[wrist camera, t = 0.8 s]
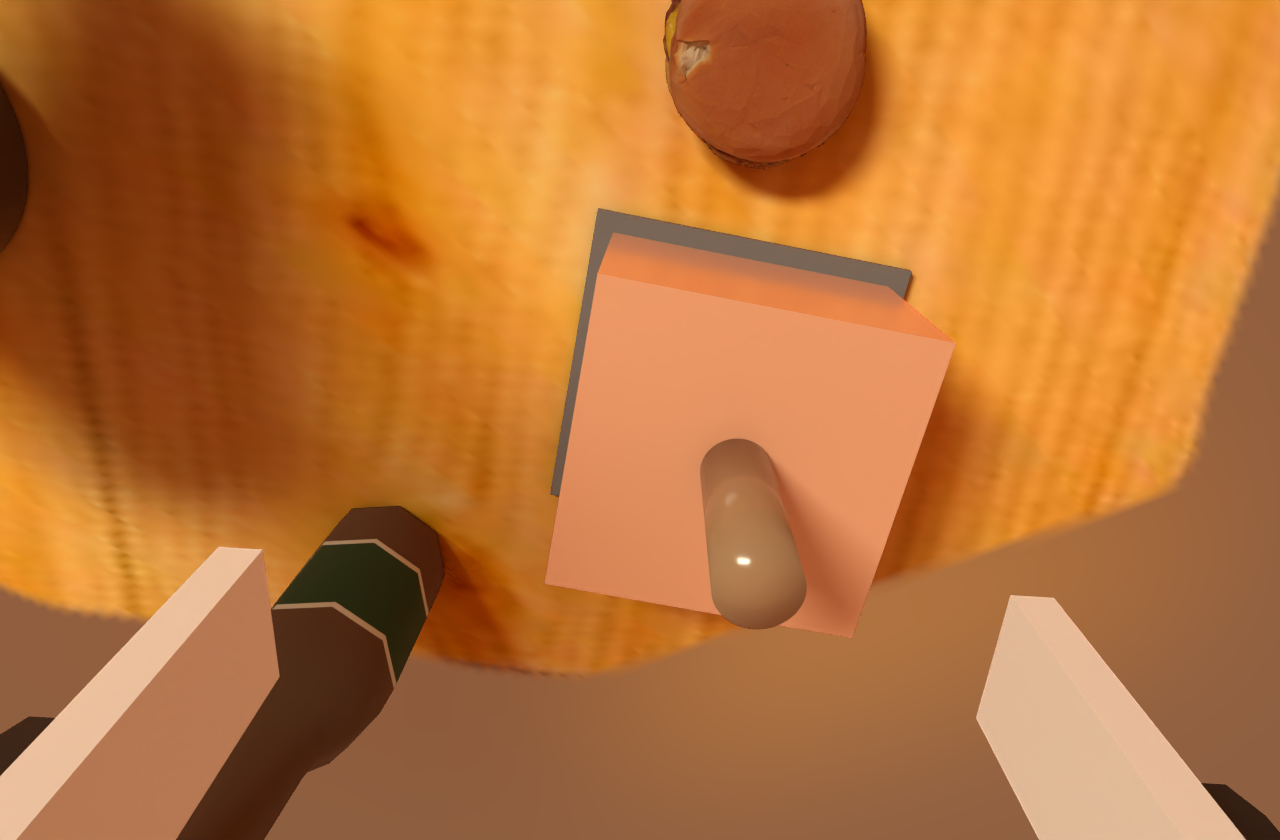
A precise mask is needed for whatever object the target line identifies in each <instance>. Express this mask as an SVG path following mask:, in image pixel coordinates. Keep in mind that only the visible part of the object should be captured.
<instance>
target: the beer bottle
mask: <svg viewBox="0 0 1280 840" xmlns="http://www.w3.org/2000/svg"><path fill="white" fill-rule="evenodd" d="M444 575H445V573H444V568H443V563H442V558H441V552H440V547H439V542H438V536H437V533H436V532H435V531H434V530H433V529H431V528H430V527H428V526H427V525H426V524H424V523H423V522H421V521H420V520H419V519H417V518H416V517H415V516H413V515H412V514H410V513H409V512H408V511H406V510H405V509H403V508H402V507H401V506H389V507H370V508H354V509H351V510H350V511H349V513H348V514H347V515H346V516H345V517H344V518H343V519H342V520H341V521H340V522H339V524H338V525H337V526H336V527H335V528H334V530H333V531H332V532H331V533H330V535H329V536H328V537H327V538H326V539H325V541H324V542H323V543H322V544H321V545H320V547H319V548H318V549H317V550H316V552H315V553H314V554H313V555H312V557H311V558H310V559H309V560H308V562H307V563H306V564H305V566H304V567H303V568H302V570H301V571H300V572H299V573H298V575H297V576H296V577H295V579H294V580H293V581H292V582H291V584H290V585H289V586H288V588H287V589H286V590H285V592H284V593H283V594H282V595H281V597H280V598H279V599H278V601H277V602H276V603H275V605H274V606H273V607H272V608H271V616H272V623H273V631H274V638H275V646H276V653H277V661H278V668H279V676H280V677H279V678H278V680H277V681H276V683H275V685H274V686H273V688H272V689H271V691H270V692H269V694H268V696H267V697H266V699H265V700H264V702H263V703H262V705H261V707H260V708H259V710H258V711H257V713H256V714H255V716H254V718H253V719H252V721H251V722H250V724H249V725H248V727H247V729H246V730H245V732H244V733H243V735H242V736H241V738H240V740H239V741H238V743H237V744H236V746H235V747H234V749H233V751H232V752H231V754H230V755H229V757H228V758H227V760H226V762H225V763H224V765H223V766H222V768H221V769H220V771H219V773H218V774H217V776H216V777H215V779H214V780H213V782H212V784H211V785H210V787H209V788H208V790H207V791H206V793H205V795H204V796H203V798H202V799H201V801H200V802H199V804H198V806H197V807H196V809H195V810H194V812H193V813H192V815H191V817H190V818H189V820H188V821H187V823H186V824H185V826H184V828H183V829H182V831H181V832H180V834H179V835H178V837H177V839H176V840H264V839H265V837H266V835H267V834H268V832H269V830H270V829H271V827H272V826H273V824H274V823H275V821H276V819H277V818H278V816H279V815H280V813H281V811H282V810H283V808H284V807H285V805H286V803H287V802H288V800H289V799H290V797H291V795H292V793H293V792H294V791H295V789H296V787H297V786H298V784H299V783H300V781H301V779H302V778H303V776H304V775H305V774H306V773H307V772H309V771H311V770H314V769H316V768H319V767H321V766H324V765H326V764H329V763H330V762H331V761H332V760H333V759H334V758H336V757H337V756H338V755H339V754H340V753H341V752H343V751H344V750H345V749H346V748H347V747H348V746H349V745H350V744H351V743H352V742H353V741H354V740H355V739H356V738H357V736H359V734H360V733H361V732H362V731H363V730H364V729H365V728H366V727H367V726H368V725H369V724H370V723H371V722H372V721H373V720H374V719H375V718H376V717H377V715H378V714H379V713H380V712H381V710H382V708H383V707H384V705H385V703H386V701H387V700H388V698H389V696H390V695H391V693H392V691H393V689H394V688H395V685H396V683H397V681H398V679H399V677H400V675H401V672H402V670H403V668H404V666H405V664H406V661H407V659H408V657H409V655H410V653H411V651H412V648H413V646H414V644H415V642H416V640H417V637H418V635H419V633H420V631H421V629H422V627H423V624H424V622H425V620H426V618H427V616H428V613H429V611H430V609H431V607H432V605H433V602H434V600H435V598H436V596H437V594H438V592H439V589H440V586H441V583H442V580H443V578H444Z"/></svg>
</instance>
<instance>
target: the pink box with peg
mask: <svg viewBox="0 0 1280 840" xmlns="http://www.w3.org/2000/svg"><path fill="white" fill-rule="evenodd" d="M955 345H956V343H955V342H954V341H953V340H952V339H950V338H949V337H948V336H947V335H946V334H944V333H943V332H942V331H941V330H940V329H938V328H937V327H936V326H935V325H934V324H932V323H931V322H930V321H929V320H928V319H926V318H925V317H924V316H923V315H922V314H920V313H919V312H918V311H917V310H916V309H914V308H913V307H912V306H911V305H910V304H908V303H907V302H906V301H905V300H904V299H903V298H901V297H900V296H899V295H898V294H897V293H895V292H894V291H893V290H892V289H891V288H889V287H888V286H883V285H878V284H873V283H868V282H863V281H858V280H853V279H848V278H842V277H837V276H832V275H827V274H822V273H817V272H812V271H807V270H802V269H797V268H792V267H787V266H782V265H777V264H771V263H766V262H761V261H756V260H751V259H746V258H741V257H736V256H731V255H726V254H721V253H716V252H711V251H706V250H701V249H695V248H690V247H685V246H680V245H675V244H670V243H665V242H660V241H655V240H650V239H645V238H640V237H635V236H630V235H624V234H619V233H614V232H613V234H612V237H611V239H610V242H609V245H608V247H607V250H606V252H605V255H604V258H603V260H602V263H601V266H600V268H599V271H598V273H597V279H596V285H595V291H594V297H593V303H592V309H591V314H590V320H589V326H588V332H587V338H586V344H585V349H584V355H583V361H582V367H581V373H580V379H579V384H578V390H577V396H576V402H575V408H574V414H573V419H572V425H571V431H570V437H569V443H568V449H567V455H566V460H565V466H564V472H563V478H562V484H561V490H560V495H559V501H558V507H557V513H556V519H555V525H554V530H553V536H552V542H551V548H550V554H549V560H548V565H547V571H546V577H545V583H544V584H548V585H554V586H559V587H565V588H571V589H576V590H582V591H587V592H593V593H599V594H604V595H610V596H616V597H621V598H627V599H633V600H638V601H644V602H650V603H655V604H661V605H667V606H672V607H678V608H683V609H689V610H695V611H700V612H706V613H712V614H717V615H722V616H723V617H724V618H725V619H727V620H728V621H730V622H731V623H733V624H735V625H737V626H740V627H744V628H748V629H766V628H771V627H774V626H778V625H780V626H785V627H791V628H797V629H802V630H808V631H814V632H819V633H825V634H830V635H836V636H842V637H847V638H853V635H854V633H855V630H856V627H857V624H858V621H859V618H860V616H861V613H862V610H863V607H864V604H865V601H866V598H867V596H868V593H869V590H870V587H871V584H872V581H873V578H874V576H875V573H876V570H877V567H878V564H879V561H880V559H881V556H882V553H883V550H884V547H885V544H886V541H887V539H888V536H889V533H890V530H891V527H892V524H893V521H894V519H895V516H896V513H897V510H898V507H899V504H900V502H901V499H902V496H903V493H904V490H905V487H906V484H907V482H908V479H909V476H910V473H911V470H912V467H913V464H914V462H915V459H916V456H917V453H918V450H919V447H920V445H921V442H922V439H923V436H924V433H925V430H926V427H927V425H928V422H929V419H930V416H931V413H932V410H933V407H934V405H935V402H936V399H937V396H938V393H939V390H940V388H941V385H942V382H943V379H944V376H945V373H946V370H947V368H948V365H949V362H950V359H951V356H952V353H953V350H954V348H955Z"/></svg>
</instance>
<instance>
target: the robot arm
mask: <svg viewBox="0 0 1280 840" xmlns="http://www.w3.org/2000/svg"><path fill="white" fill-rule="evenodd" d="M26 194H27V162H26V154H25V149H24V144H23V139H22V136H21V132H20V129H19V126H18V123H17V120H16V117H15V115H14V112H13V110H12V107H11V105H10V103H9V101H8V99H7V97H6V95H5V93H4V91H3V90H2V88H1V86H0V251H1V250H2V249H3V248H4V247H5V246H6V244H7V243H8V242H9V240H10V239H11V237H12V236H13V234H14V232H15V230H16V228H17V226H18V224H19V222H20V219H21V216H22V213H23V209H24V206H25V200H26ZM279 677H280V676H279V668H278V661H277V653H276V646H275V638H274V631H273V623H272V616H271V608H270V600H269V593H268V585H267V578H266V570H265V563H264V555H263V549H247V548H231V547H218V548H217V549H216V550H215V551H214V552H213V553H212V554H211V555H210V556H209V557H208V558H207V559H206V561H205V562H204V563H203V564H202V565H201V566H200V567H199V568H198V569H197V570H196V571H195V572H194V573H193V574H192V575H191V576H190V577H189V578H188V579H187V581H186V582H185V583H184V584H183V585H182V586H181V587H180V588H179V589H178V590H177V591H176V592H175V593H174V594H173V595H172V596H171V597H170V598H169V599H168V600H167V602H166V603H165V604H164V605H163V606H162V607H161V608H160V609H159V610H158V611H157V612H156V613H155V614H154V615H153V616H152V617H151V618H150V619H149V620H148V621H147V623H146V624H145V625H144V626H143V627H142V628H141V629H140V630H139V631H138V632H137V633H136V634H135V635H134V636H133V637H132V638H131V639H130V640H129V641H128V643H127V644H126V645H125V646H124V647H123V648H122V649H121V650H120V651H119V652H118V653H117V654H116V655H115V656H114V657H113V658H112V659H111V660H110V662H109V663H108V664H107V665H106V666H105V667H104V668H103V669H102V670H101V671H100V672H99V673H98V674H97V675H96V676H95V677H94V678H93V679H92V680H91V681H90V682H89V683H88V684H87V686H86V687H85V688H84V689H83V690H82V691H81V692H80V693H79V694H78V695H77V696H76V697H75V698H74V699H73V700H72V701H71V702H70V704H69V705H68V706H67V707H66V708H65V709H64V710H63V711H62V712H61V713H60V714H59V715H58V716H57V717H56V718H45V717H28V718H26V719H24V720H23V721H21V722H20V723H18V724H16V725H15V726H13V727H12V728H10V729H8V730H7V731H5V732H3V733H2V734H0V840H176V839H177V837H178V835H179V834H180V832H181V831H182V829H183V828H184V826H185V824H186V823H187V821H188V820H189V818H190V817H191V815H192V813H193V812H194V810H195V809H196V807H197V806H198V804H199V802H200V801H201V799H202V798H203V796H204V795H205V793H206V791H207V790H208V788H209V787H210V785H211V784H212V782H213V780H214V779H215V777H216V776H217V774H218V773H219V771H220V769H221V768H222V766H223V765H224V763H225V762H226V760H227V758H228V757H229V755H230V754H231V752H232V751H233V749H234V747H235V746H236V744H237V743H238V741H239V740H240V738H241V736H242V735H243V733H244V732H245V730H246V729H247V727H248V725H249V724H250V722H251V721H252V719H253V718H254V716H255V714H256V713H257V711H258V710H259V708H260V707H261V705H262V703H263V702H264V700H265V699H266V697H267V696H268V694H269V692H270V691H271V689H272V688H273V686H274V685H275V683H276V681H277V680H278V678H279ZM976 719H977V721H978V722H979V724H980V727H981V728H982V730H983V732H984V734H985V736H986V738H987V740H988V742H989V744H990V746H991V748H992V749H993V752H994V753H995V756H996V757H997V759H998V761H999V763H1000V765H1001V767H1002V769H1003V771H1004V773H1005V775H1006V777H1007V779H1008V780H1009V782H1010V785H1011V786H1012V788H1013V790H1014V792H1015V794H1016V796H1017V798H1018V800H1019V802H1020V803H1021V806H1022V808H1023V810H1024V812H1025V814H1026V815H1027V817H1028V819H1029V821H1030V823H1031V825H1032V827H1033V829H1034V831H1035V833H1036V835H1037V837H1038V839H1039V840H1280V832H1279V831H1278V830H1277V829H1276V827H1275V826H1274V825H1273V824H1272V823H1271V822H1270V820H1269V819H1268V818H1267V817H1266V816H1265V815H1264V814H1263V813H1261V812H1260V811H1259V810H1258V809H1256V808H1255V807H1254V806H1252V805H1251V804H1250V803H1249V802H1247V801H1246V800H1244V799H1243V798H1242V797H1241V796H1239V795H1238V794H1237V793H1236V792H1234V791H1233V790H1232V789H1230V788H1229V787H1228V786H1227V785H1223V784H1206V783H1200V782H1199V780H1198V779H1197V778H1196V777H1195V775H1194V774H1193V773H1192V771H1191V770H1190V769H1189V768H1188V766H1187V765H1186V764H1185V763H1184V761H1183V760H1182V759H1181V758H1180V756H1179V755H1178V754H1177V753H1176V751H1175V750H1174V749H1173V748H1172V746H1171V745H1170V744H1169V742H1168V741H1167V740H1166V739H1165V737H1164V736H1163V735H1162V734H1161V732H1160V731H1159V730H1158V729H1157V727H1156V726H1155V725H1154V723H1153V722H1152V721H1151V720H1150V718H1149V717H1148V716H1147V715H1146V713H1145V712H1144V711H1143V710H1142V708H1141V707H1140V706H1139V705H1138V703H1137V702H1136V701H1135V700H1134V698H1133V697H1132V696H1131V695H1130V693H1129V692H1128V691H1127V690H1126V688H1125V687H1124V686H1123V684H1122V683H1121V682H1120V681H1119V679H1118V678H1117V677H1116V676H1115V675H1114V673H1113V672H1112V671H1111V669H1110V668H1109V667H1108V666H1107V664H1106V663H1105V662H1104V661H1103V659H1102V658H1101V657H1100V656H1099V654H1098V653H1097V652H1096V650H1095V649H1094V648H1093V647H1092V645H1091V644H1090V643H1089V642H1088V640H1087V639H1086V638H1085V637H1084V636H1083V634H1082V633H1081V632H1080V630H1079V629H1078V628H1077V627H1076V625H1075V624H1074V623H1073V622H1072V620H1071V619H1070V618H1069V617H1068V615H1067V614H1066V613H1065V611H1064V610H1063V609H1062V608H1061V606H1060V605H1059V604H1058V603H1057V601H1056V600H1055V599H1054V598H1046V597H1029V596H1013V595H1011V596H1010V599H1009V603H1008V607H1007V610H1006V614H1005V618H1004V621H1003V624H1002V628H1001V631H1000V635H999V639H998V642H997V646H996V649H995V653H994V656H993V660H992V663H991V667H990V670H989V674H988V678H987V681H986V685H985V688H984V692H983V695H982V699H981V703H980V706H979V709H978V713H977V717H976Z"/></svg>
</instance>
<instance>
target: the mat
mask: <svg viewBox="0 0 1280 840" xmlns="http://www.w3.org/2000/svg"><path fill="white" fill-rule="evenodd" d="M613 232H614V233H619V234H624V235H630V236H635V237H640V238H645V239H650V240H655V241H660V242H665V243H670V244H675V245H680V246H685V247H690V248H695V249H701V250H706V251H711V252H716V253H721V254H726V255H731V256H736V257H741V258H746V259H751V260H756V261H761V262H766V263H771V264H777V265H782V266H787V267H792V268H797V269H802V270H807V271H812V272H817V273H822V274H827V275H832V276H837V277H842V278H848V279H853V280H858V281H863V282H868V283H873V284H878V285H883V286H888V287H889V288H891V289H892V290H893V291H894V292H895V293H897V294H898V295H899V296H900V297H901V298H903V299H904V295H905V292H906V289H907V286H908V283H909V280H910V277H911V273H912V271H910V270H907V269H902V268H897V267H892V266H887V265H882V264H877V263H872V262H866V261H861V260H856V259H851V258H846V257H841V256H836V255H831V254H826V253H821V252H816V251H811V250H806V249H801V248H796V247H791V246H786V245H781V244H776V243H771V242H766V241H761V240H756V239H751V238H746V237H741V236H735V235H730V234H725V233H720V232H715V231H710V230H705V229H700V228H695V227H690V226H685V225H680V224H675V223H670V222H665V221H660V220H655V219H650V218H645V217H640V216H635V215H630V214H625V213H620V212H615V211H610V210H604V209H599V208H598V211H597V217H596V223H595V229H594V235H593V241H592V247H591V253H590V259H589V265H588V271H587V277H586V283H585V289H584V295H583V301H582V307H581V313H580V319H579V325H578V331H577V337H576V343H575V349H574V355H573V361H572V367H571V373H570V379H569V385H568V391H567V397H566V403H565V409H564V415H563V421H562V427H561V433H560V439H559V445H558V451H557V457H556V463H555V469H554V475H553V481H552V487H551V495H557V496H559V495H560V490H561V484H562V478H563V472H564V466H565V460H566V455H567V449H568V443H569V437H570V431H571V425H572V419H573V414H574V408H575V402H576V396H577V390H578V384H579V379H580V373H581V367H582V361H583V355H584V349H585V344H586V338H587V332H588V326H589V320H590V314H591V309H592V303H593V297H594V291H595V285H596V279H597V273H598V271H599V268H600V266H601V263H602V260H603V258H604V255H605V252H606V250H607V247H608V245H609V242H610V239H611V237H612V234H613Z"/></svg>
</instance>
